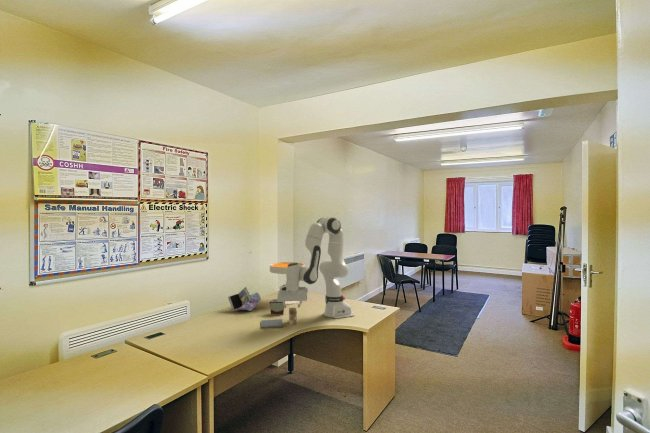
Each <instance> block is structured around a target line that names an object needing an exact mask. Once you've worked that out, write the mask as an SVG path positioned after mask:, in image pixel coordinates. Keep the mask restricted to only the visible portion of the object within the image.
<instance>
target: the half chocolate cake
mask: <svg viewBox="0 0 650 433" xmlns="http://www.w3.org/2000/svg"><path fill="white" fill-rule="evenodd" d="M268 304H269V309H270V315H274V316H276V315H277V316H280V315H281V316H284V313H285V308H284V304H285V303H284V304H283V302H282V301H278V300H277V298H275V299H271V300H269V302H268Z"/></svg>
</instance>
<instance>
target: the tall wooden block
mask: <svg viewBox="0 0 650 433" xmlns="http://www.w3.org/2000/svg"><path fill="white" fill-rule="evenodd" d="M297 312H298V311H297V308H296V307H289V308H288V324H289V325H290V326H291V325H292V326H294V325H297V321H298V320H297V318H298V316H297V315H298V313H297Z"/></svg>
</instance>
